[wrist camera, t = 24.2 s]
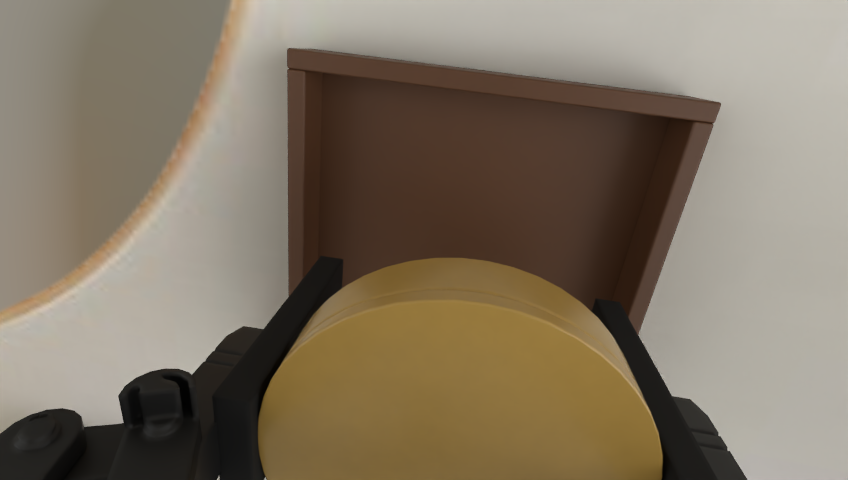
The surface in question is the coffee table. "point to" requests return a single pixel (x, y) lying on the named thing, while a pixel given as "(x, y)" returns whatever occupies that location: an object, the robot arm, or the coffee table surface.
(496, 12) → the coffee table surface
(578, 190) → the tray
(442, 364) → the lid
